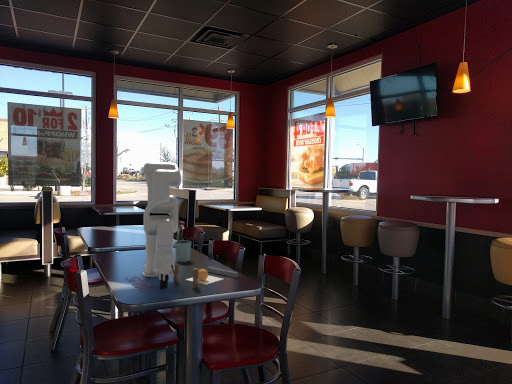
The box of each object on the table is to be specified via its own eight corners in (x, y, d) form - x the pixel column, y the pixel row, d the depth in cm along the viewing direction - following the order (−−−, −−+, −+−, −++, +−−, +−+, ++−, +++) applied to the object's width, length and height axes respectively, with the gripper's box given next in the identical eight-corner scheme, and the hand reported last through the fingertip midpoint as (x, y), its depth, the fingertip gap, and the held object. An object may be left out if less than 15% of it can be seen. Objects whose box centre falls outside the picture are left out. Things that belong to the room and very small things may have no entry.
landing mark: (185, 279, 198) (185, 279, 198) (203, 274, 209) (203, 274, 209) (206, 284, 190) (206, 284, 190) (223, 279, 201) (224, 278, 201)
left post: (172, 282, 191) (172, 264, 191) (176, 281, 193) (176, 264, 193) (176, 283, 190) (176, 265, 190) (179, 282, 192) (180, 264, 192)
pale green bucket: (192, 259, 248) (193, 240, 247) (188, 262, 238) (188, 243, 237) (177, 258, 249) (177, 240, 248) (172, 261, 239) (172, 242, 238)
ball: (200, 266, 200) (203, 276, 202) (192, 271, 196) (195, 282, 197) (208, 267, 196) (211, 278, 198) (200, 273, 192) (203, 284, 194)
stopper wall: (207, 271, 216) (207, 267, 216) (209, 271, 218) (209, 266, 217) (235, 277, 205) (235, 273, 205) (237, 277, 206) (237, 272, 206)
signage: (123, 277, 197) (142, 275, 203) (123, 278, 197) (142, 276, 203) (140, 291, 174) (161, 288, 180) (140, 293, 174) (161, 290, 180)
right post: (191, 287, 184) (192, 269, 184) (195, 286, 186) (195, 268, 186) (195, 288, 182) (196, 269, 182) (199, 287, 185) (199, 268, 184)
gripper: (147, 247, 177) (146, 287, 177) (170, 251, 168) (169, 293, 169) (159, 245, 183) (158, 283, 184) (182, 249, 175) (181, 289, 175)
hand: (163, 288), depth 176 cm, fingers closed
